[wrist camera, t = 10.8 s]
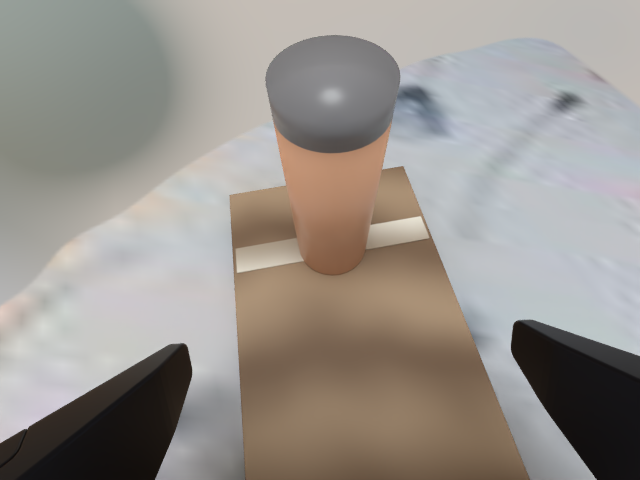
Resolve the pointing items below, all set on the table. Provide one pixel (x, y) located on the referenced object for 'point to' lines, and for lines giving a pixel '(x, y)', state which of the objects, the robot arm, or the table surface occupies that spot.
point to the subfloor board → (359, 354)
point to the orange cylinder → (332, 141)
